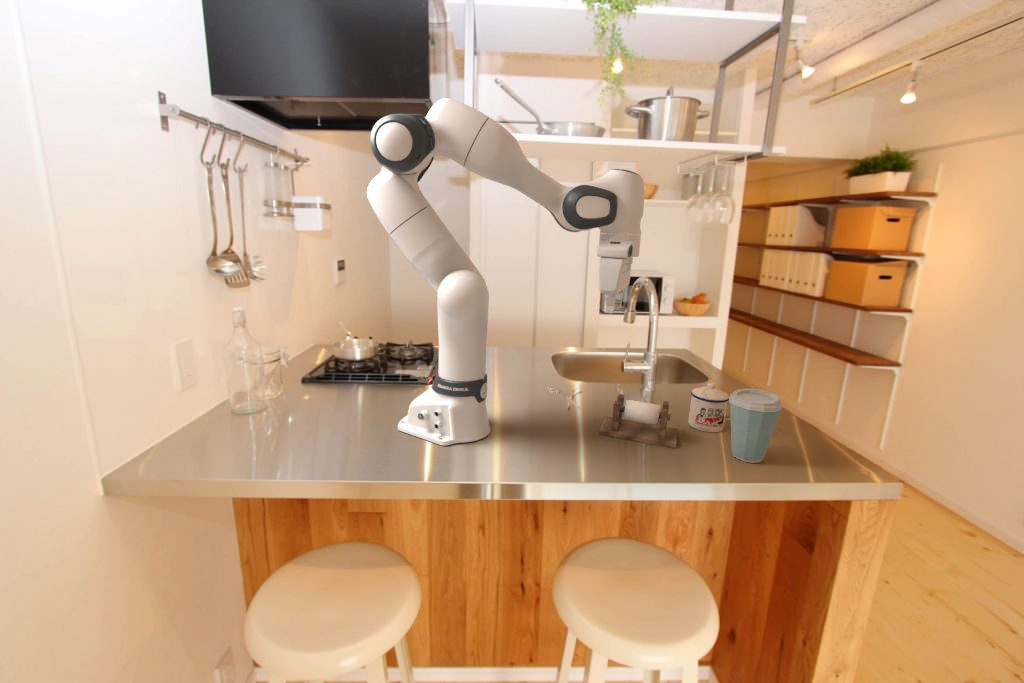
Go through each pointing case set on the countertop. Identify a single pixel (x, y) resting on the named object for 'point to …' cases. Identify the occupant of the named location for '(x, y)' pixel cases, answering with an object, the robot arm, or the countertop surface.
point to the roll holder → (639, 427)
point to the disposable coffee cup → (752, 422)
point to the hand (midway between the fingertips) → (613, 309)
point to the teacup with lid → (708, 408)
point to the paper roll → (642, 412)
